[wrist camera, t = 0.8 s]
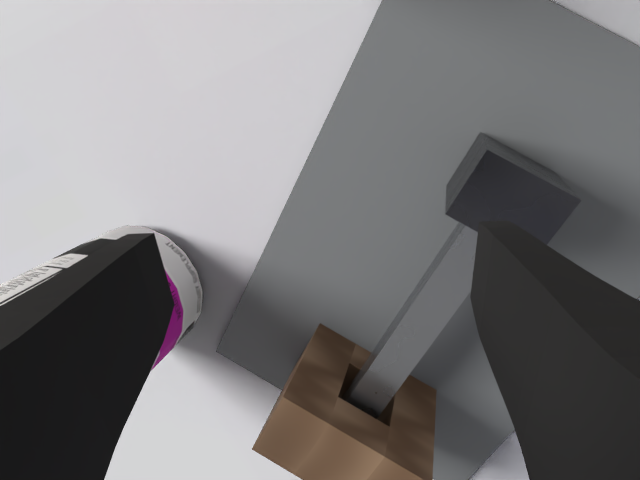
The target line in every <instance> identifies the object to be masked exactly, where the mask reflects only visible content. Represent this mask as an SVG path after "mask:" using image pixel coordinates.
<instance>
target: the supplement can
mask: <svg viewBox="0 0 640 480" xmlns="http://www.w3.org/2000/svg"><path fill="white" fill-rule="evenodd" d="M139 233H154V234H155V238H156V241H157V244H158V248H159V251H160V255H161V258H162V262H163V265H164V269H165V272H166V276H167V279H168V283H169V286H170V290H171V293H172V297H173V300H174V304H175V305H174V308H173V312H172V316H171V319H170V323H169V326H168V329H167V333H166V336H165V339H164V342H163V344H162V346H161V349H160V351H159V353H158V355H157V358H156V360H155V362H154V364H153V366H152V368H151V370H152V369H153V368H154V367H155V366H156V365H157V364H158V363H159V362H160V361H161V360H162V359H163V358H164V357H165V356H166V355H167V354H168V353H169V352H170V351H171V350H172V349H173V348H174V347H175V346H176V345H177V343H178V342H179V341H180V340H181V339H182V338H183V337H184V336H185V335H186V334H187V333H188V332H189V331H190V330H191V329H192V328H193V326H194V325H195V323H196V321H197V319H198V317H199V315H200V313H201V308H202V296H203V292H202V288H201V284H200V281H199V277H198V273H197V271H196V269H195V268H194V266H193V265H192V263H191V261H190V260H189V258H188V257H187V255H186V254H185V252H184V251H183V250H182V249H180V248H179V247H178V246H177V245H176V244H175V243H174V242H173V241H171V240H170V239H169V238H168V237H167V236H165V235H162V234H160V233H158V232H156V231H154V230H151V229H149V228H147V227H139V226H128V225H126V226H123V227H120V228H116V229H113V230H110V231H108V232H106V233H104V234H102V235H100V236H98V237H96V238H94V239H91V240H89V241H87V242H85V243H83V244H81V245H79V246H77V247H75V248H73V249H71V250H69V251H67V252H65V253H63V254H61V255H59V256H57V257H55V258H53V259H51V260H49V261H47V262H45V263H43V264H41V265H39V266H37V267H35V268H33V269H31V270H29V271H27V272H25V273H23V274H21V275H19V276H17V277H15V278H13V279H11V280H9V281H7V282H5V283H3V284H1V285H0V306H1V305H3V304H5V303H7V302H8V301H10V300H12V299H14V298H16V297H17V296H19V295H21V294H23V293H25V292H26V291H28V290H30V289H32V288H34V287H35V286H37V285H39V284H41V283H43V282H44V281H46V280H48V279H50V278H51V277H53V276H55V275H56V274H58V273H60V272H61V271H63V270H65V269H66V268H68V267H70V266H71V265H73V264H75V263H76V262H78V261H80V260H81V259H83V258H85V257H86V256H88V255H90V254H91V253H93V252H95V251H97V250H98V249H100V248H102V247H103V246H105V245H107V244H109V243H111V242H112V241H114V240H116V239H118V238H120V237H122V236H125V235H127V234H139Z"/></svg>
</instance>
